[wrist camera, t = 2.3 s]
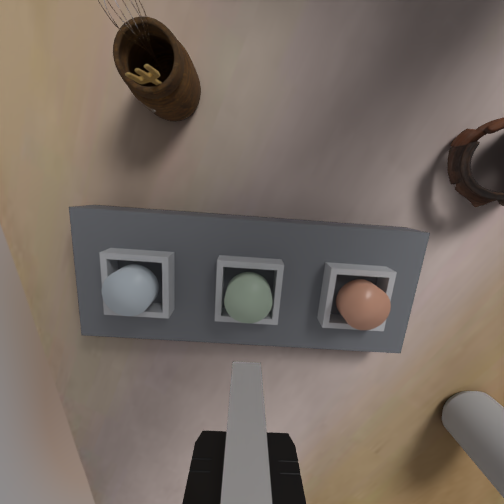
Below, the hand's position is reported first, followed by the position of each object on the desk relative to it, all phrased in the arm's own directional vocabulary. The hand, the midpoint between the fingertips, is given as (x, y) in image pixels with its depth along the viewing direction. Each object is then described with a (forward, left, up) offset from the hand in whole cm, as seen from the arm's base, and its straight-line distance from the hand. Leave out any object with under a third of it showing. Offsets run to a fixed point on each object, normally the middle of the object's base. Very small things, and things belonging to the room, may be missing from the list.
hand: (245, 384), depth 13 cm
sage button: (0, 0, -12) cm, 12 cm away
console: (0, 0, -18) cm, 18 cm away
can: (+18, +32, -18) cm, 41 cm away
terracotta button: (0, +11, -12) cm, 16 cm away
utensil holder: (-19, -9, -18) cm, 28 cm away
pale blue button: (0, -11, -12) cm, 16 cm away
